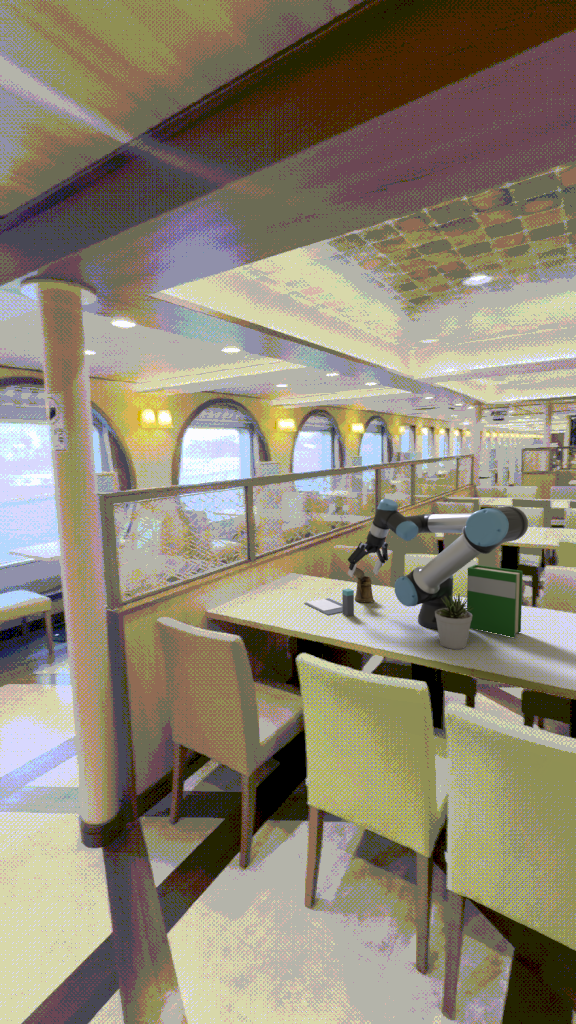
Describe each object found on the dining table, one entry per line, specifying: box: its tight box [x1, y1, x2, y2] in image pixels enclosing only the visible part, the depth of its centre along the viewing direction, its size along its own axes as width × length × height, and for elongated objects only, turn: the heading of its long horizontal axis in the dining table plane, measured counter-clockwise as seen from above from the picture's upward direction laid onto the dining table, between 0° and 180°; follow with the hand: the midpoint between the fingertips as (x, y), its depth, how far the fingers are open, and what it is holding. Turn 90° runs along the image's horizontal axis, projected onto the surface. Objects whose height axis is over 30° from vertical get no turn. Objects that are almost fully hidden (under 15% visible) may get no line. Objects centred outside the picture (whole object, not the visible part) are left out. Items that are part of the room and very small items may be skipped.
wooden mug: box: [353, 566, 374, 604], centre depth 215 cm, size 9×14×18 cm, turn 145°
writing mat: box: [303, 597, 343, 616], centre depth 209 cm, size 20×14×1 cm
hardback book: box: [466, 564, 523, 638], centre depth 174 cm, size 18×7×24 cm, turn 46°
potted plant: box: [435, 594, 473, 650], centre depth 161 cm, size 13×14×20 cm
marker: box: [341, 588, 355, 617], centre depth 197 cm, size 4×4×11 cm
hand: (362, 574), depth 200 cm, fingers open, 13 cm apart
